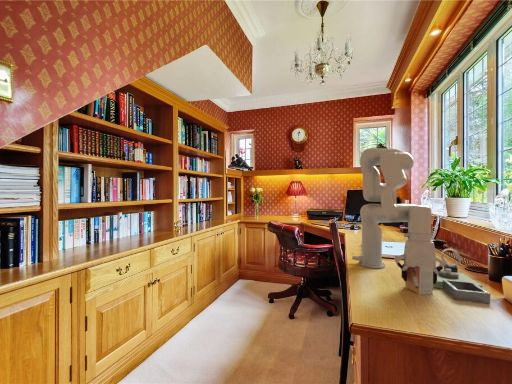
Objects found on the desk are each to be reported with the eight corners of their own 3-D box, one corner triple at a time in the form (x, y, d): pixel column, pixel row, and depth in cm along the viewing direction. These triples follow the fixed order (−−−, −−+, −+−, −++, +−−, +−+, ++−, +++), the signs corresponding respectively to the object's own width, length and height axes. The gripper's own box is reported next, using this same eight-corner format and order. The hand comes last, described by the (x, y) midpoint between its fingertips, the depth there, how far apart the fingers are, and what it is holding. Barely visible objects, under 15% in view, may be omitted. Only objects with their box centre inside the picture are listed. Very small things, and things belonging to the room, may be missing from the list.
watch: (462, 274, 122) (463, 251, 121) (441, 272, 125) (442, 249, 125) (459, 271, 127) (460, 248, 127) (439, 269, 130) (439, 247, 130)
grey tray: (455, 300, 93) (455, 290, 93) (442, 288, 104) (442, 279, 104) (490, 303, 90) (490, 293, 90) (472, 291, 102) (472, 282, 102)
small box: (404, 287, 105) (405, 260, 105) (418, 286, 106) (418, 260, 106) (419, 294, 97) (419, 266, 97) (433, 294, 98) (433, 266, 98)
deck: (433, 287, 105) (434, 273, 105) (421, 275, 121) (421, 263, 121) (482, 292, 101) (482, 277, 101) (462, 278, 116) (463, 266, 116)
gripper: (396, 237, 100) (396, 282, 100) (449, 240, 95) (449, 287, 95) (392, 234, 108) (392, 276, 108) (441, 237, 103) (441, 281, 103)
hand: (418, 281), depth 102 cm, fingers open, 9 cm apart
